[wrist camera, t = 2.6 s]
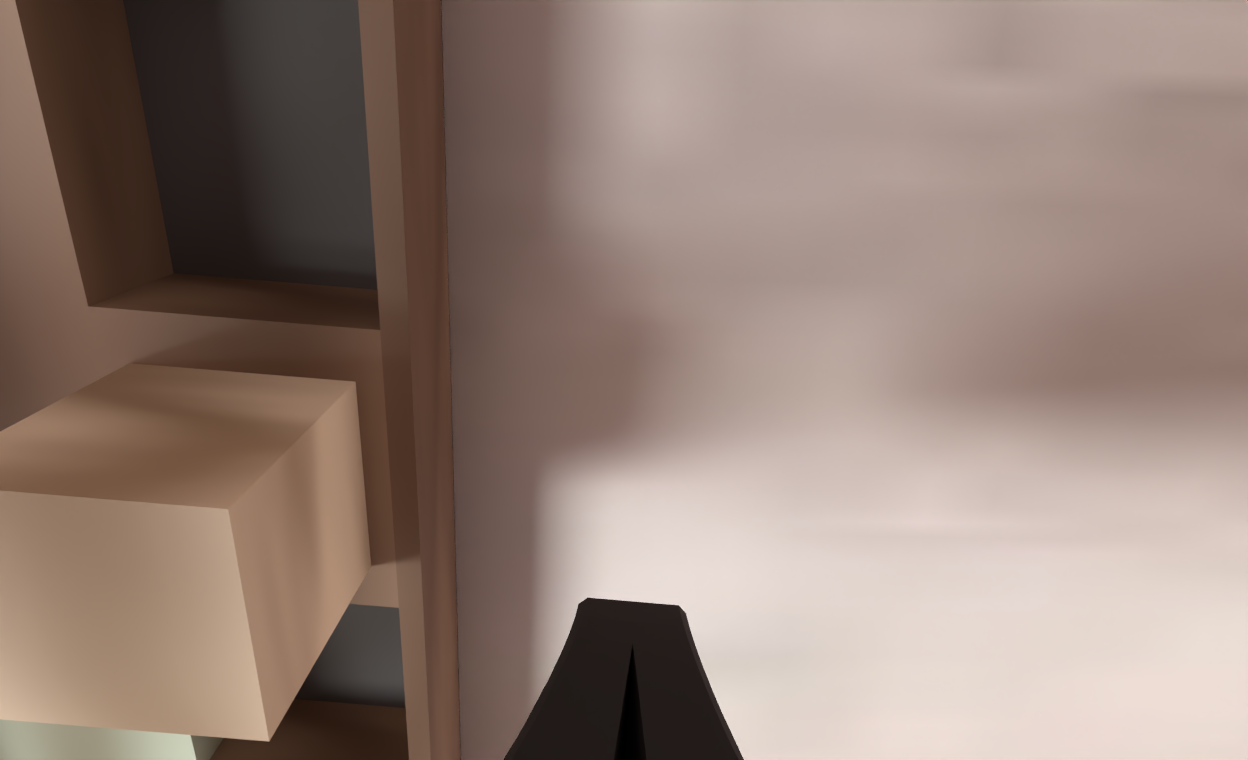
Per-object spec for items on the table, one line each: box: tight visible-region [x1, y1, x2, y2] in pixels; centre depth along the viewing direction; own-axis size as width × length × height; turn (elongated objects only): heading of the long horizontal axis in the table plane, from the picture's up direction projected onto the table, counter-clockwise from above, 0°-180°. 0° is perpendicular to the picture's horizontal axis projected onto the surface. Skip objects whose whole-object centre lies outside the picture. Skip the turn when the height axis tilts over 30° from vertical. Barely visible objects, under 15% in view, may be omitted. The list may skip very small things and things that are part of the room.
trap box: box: [0, 0, 461, 760], centre depth 13 cm, size 12×26×4 cm, turn 176°
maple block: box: [0, 363, 371, 741], centre depth 11 cm, size 4×4×4 cm
